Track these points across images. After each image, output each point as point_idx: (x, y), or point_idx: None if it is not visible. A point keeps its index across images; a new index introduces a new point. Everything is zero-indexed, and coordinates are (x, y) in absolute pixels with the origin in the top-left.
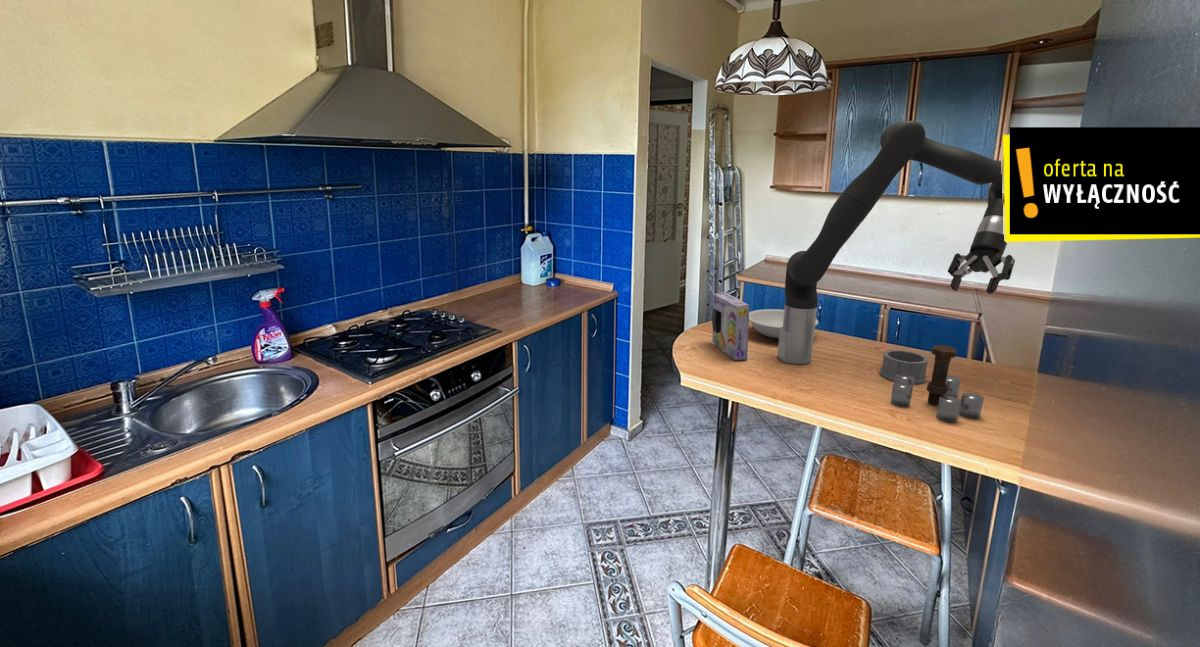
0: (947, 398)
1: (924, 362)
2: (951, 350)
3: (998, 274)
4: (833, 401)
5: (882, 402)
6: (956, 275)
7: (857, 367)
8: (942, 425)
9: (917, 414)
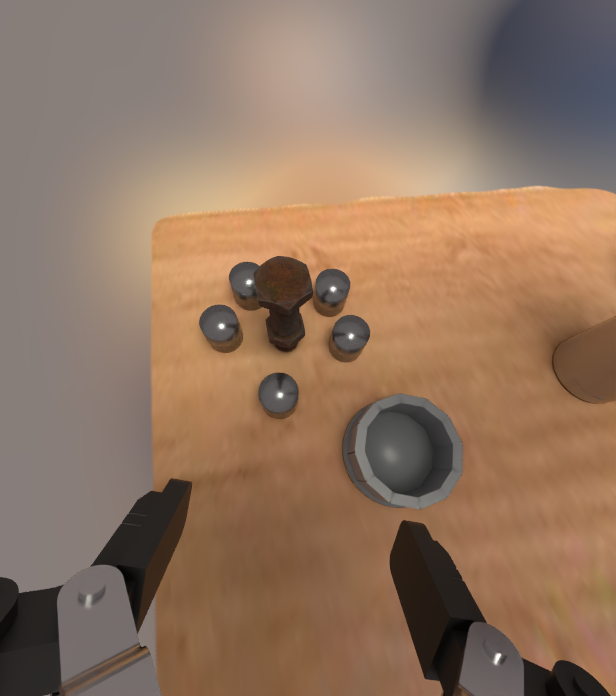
0: (251, 277)
1: (356, 435)
2: (264, 274)
3: (52, 626)
4: (402, 239)
5: (350, 287)
6: (472, 628)
7: (483, 429)
8: None
9: None
